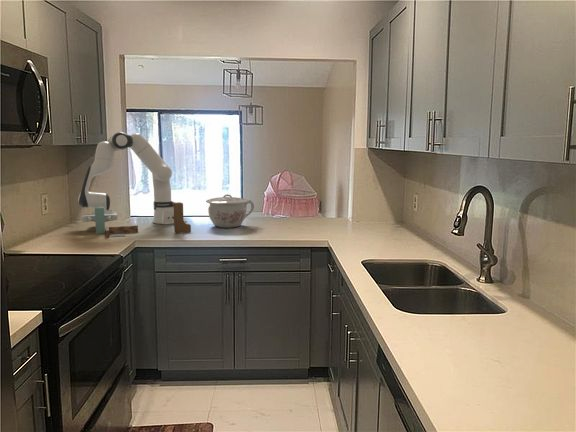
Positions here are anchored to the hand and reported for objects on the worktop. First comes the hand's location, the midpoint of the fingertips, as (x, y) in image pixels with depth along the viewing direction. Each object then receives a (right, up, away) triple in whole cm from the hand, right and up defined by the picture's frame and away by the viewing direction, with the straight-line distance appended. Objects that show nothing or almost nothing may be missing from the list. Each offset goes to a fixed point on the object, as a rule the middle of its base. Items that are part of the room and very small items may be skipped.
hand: (99, 219), depth 286 cm
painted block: (0, -8, +2) cm, 8 cm away
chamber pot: (+73, -5, +27) cm, 78 cm away
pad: (+13, -9, -6) cm, 17 cm away
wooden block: (+48, -8, +5) cm, 49 cm away
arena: (+15, -9, -4) cm, 18 cm away
